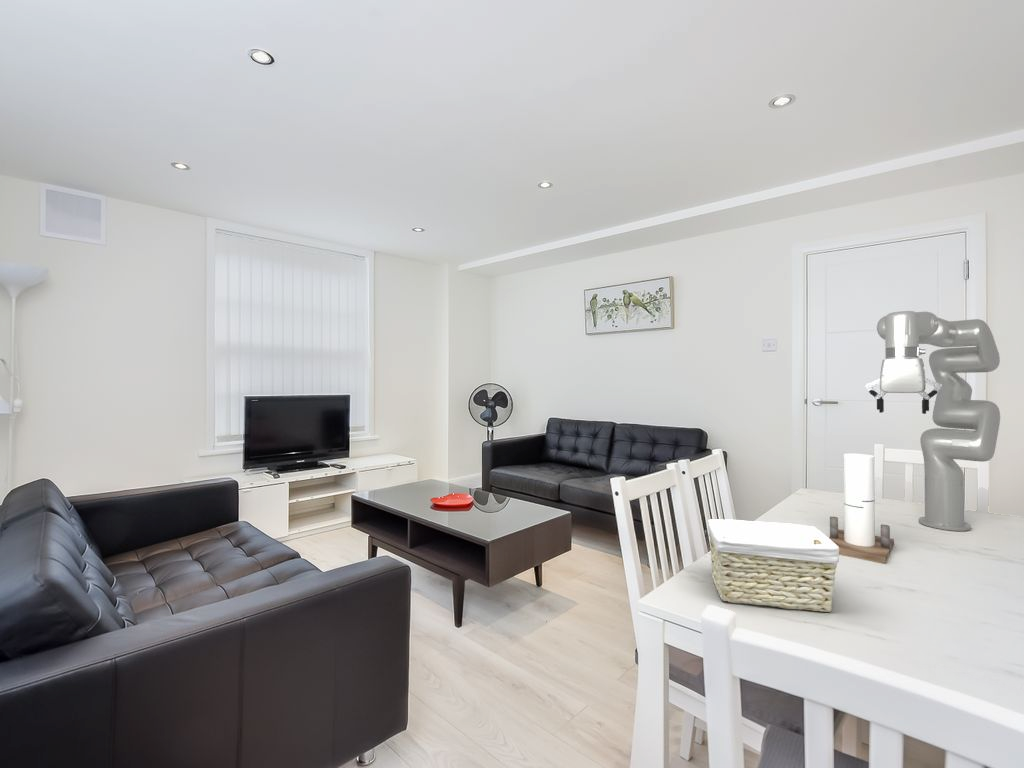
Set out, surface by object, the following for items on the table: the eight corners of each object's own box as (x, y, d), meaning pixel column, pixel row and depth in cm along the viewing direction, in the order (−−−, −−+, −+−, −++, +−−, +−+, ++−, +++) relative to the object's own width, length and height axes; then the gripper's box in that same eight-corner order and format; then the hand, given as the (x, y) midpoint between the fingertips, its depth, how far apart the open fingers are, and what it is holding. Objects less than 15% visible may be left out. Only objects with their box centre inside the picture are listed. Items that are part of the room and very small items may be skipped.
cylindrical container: (880, 547, 132) (879, 457, 132) (851, 545, 134) (850, 457, 133) (866, 538, 139) (866, 453, 139) (839, 537, 141) (838, 453, 140)
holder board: (836, 533, 148) (836, 509, 148) (894, 544, 139) (893, 518, 139) (822, 551, 134) (822, 524, 134) (885, 563, 124) (885, 535, 124)
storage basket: (814, 585, 113) (813, 523, 112) (843, 618, 97) (842, 546, 97) (706, 576, 118) (705, 517, 118) (717, 606, 103) (716, 538, 103)
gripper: (942, 353, 135) (942, 413, 135) (866, 356, 147) (867, 411, 147) (941, 352, 130) (941, 414, 130) (863, 355, 142) (863, 412, 142)
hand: (902, 412), depth 138 cm, fingers open, 9 cm apart
